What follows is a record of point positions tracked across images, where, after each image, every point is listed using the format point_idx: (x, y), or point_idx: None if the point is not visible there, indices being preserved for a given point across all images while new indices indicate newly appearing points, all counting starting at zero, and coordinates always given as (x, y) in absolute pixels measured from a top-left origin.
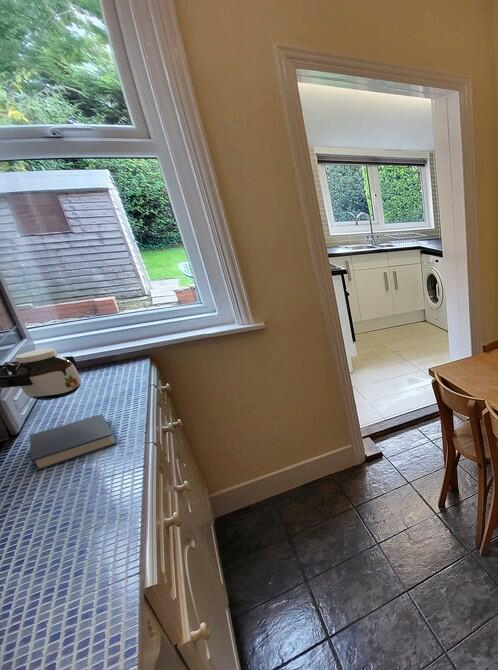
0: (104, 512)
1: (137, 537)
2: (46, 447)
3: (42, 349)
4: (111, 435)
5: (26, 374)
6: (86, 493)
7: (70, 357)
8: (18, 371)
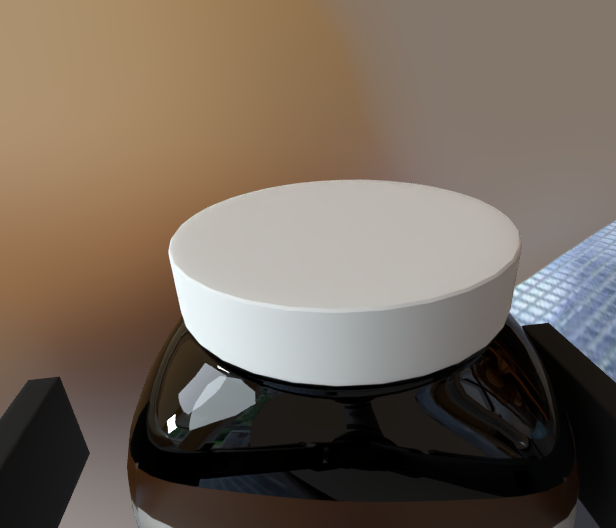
0: (595, 277)
1: (592, 236)
2: (582, 526)
3: (196, 247)
4: None
5: (527, 327)
6: (591, 323)
7: (61, 381)
8: (549, 378)
